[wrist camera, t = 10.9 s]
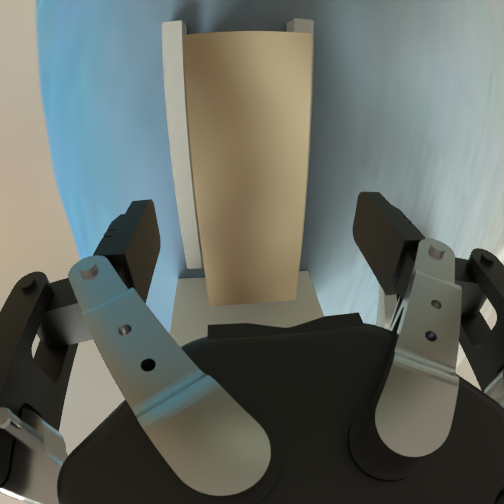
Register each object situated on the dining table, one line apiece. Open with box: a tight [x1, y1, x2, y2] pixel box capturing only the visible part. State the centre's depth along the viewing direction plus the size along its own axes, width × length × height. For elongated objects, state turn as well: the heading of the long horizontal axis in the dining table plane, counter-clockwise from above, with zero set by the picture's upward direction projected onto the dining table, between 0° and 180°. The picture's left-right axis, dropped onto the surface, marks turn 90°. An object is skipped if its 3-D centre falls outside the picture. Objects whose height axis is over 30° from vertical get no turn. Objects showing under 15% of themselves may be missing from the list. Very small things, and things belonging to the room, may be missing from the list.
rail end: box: [183, 31, 312, 306], centre depth 17 cm, size 5×15×9 cm, turn 1°
